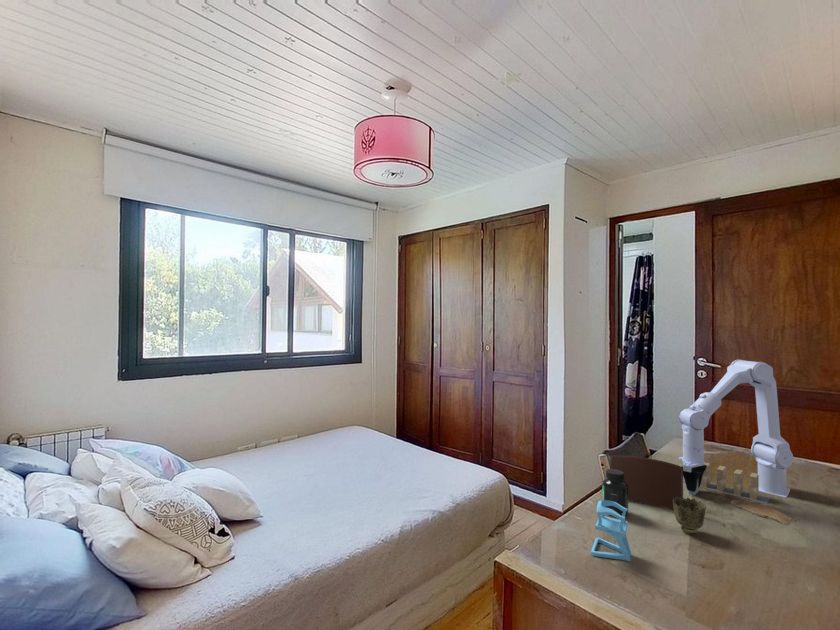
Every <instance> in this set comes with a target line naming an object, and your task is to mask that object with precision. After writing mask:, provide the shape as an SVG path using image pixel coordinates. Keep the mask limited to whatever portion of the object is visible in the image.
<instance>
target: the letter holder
mask: <svg viewBox="0 0 840 630" xmlns="http://www.w3.org/2000/svg"><path fill="white" fill-rule="evenodd" d="M609 463H610V464H609V465H610V466H609V469H617V470H620V471H623V472H624V481H625V482H626V483H627V485H628V501H630V502H636V503H640V504H644V503H645V504H646V505H648V506H649V505H650V506H655V507H660V508H666V509H668V510H669V509H670V510H674V506H673V498H674V499H675V497H676V496H677V497H678V498H679V497H681V499H682V500H684V483H683V469H682V468H681V465H678V464H675V463H672V462H668V461H663V460H659V459H654V458H648V457H644V456H634V455H611V457H610V459H609Z"/></svg>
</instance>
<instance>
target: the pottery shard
mask: <svg viewBox="0 0 840 630" xmlns="http://www.w3.org/2000/svg"><path fill="white" fill-rule="evenodd" d="M730 504H731V505H734V506H735V507H738V508H740V509H742V510H744V511H746V512H748V513H750V514H751V515H755V516H757V517H759V518H760V517H762V518H763V519H768V520H771V521H775V522H776V523H780V524H782V525H785V526H789V525H790V524H791V523H792V522H797V521H796V519H795V518H793V517H790V516H788V515H786V514H785V513H783V512H781V511H779V510H777V509H775V508H772V507H771V506H769V505H767V504H765V503H761V502H757V501H752V502H751V501H743V500H739V499H738V500H737V499H732V500H730Z"/></svg>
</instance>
